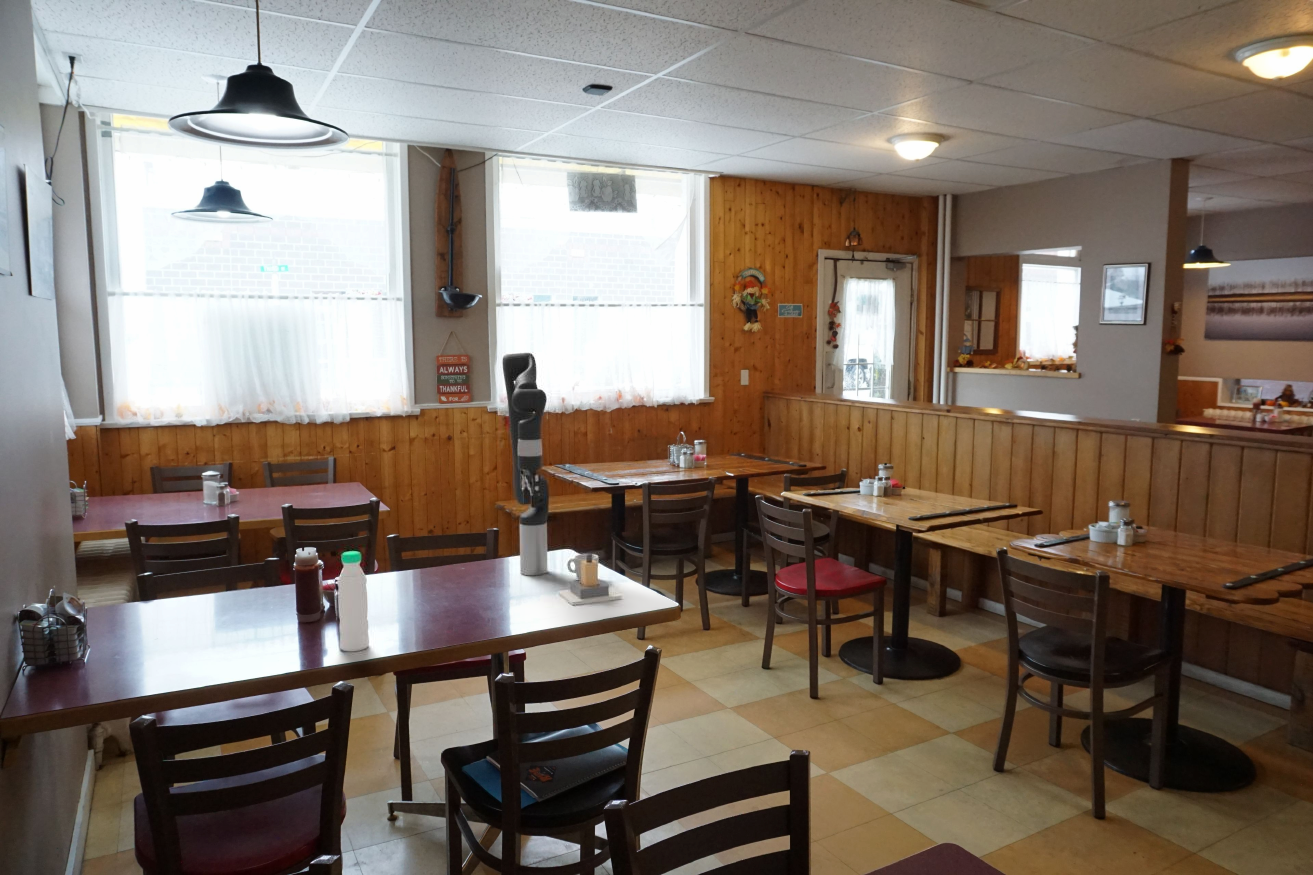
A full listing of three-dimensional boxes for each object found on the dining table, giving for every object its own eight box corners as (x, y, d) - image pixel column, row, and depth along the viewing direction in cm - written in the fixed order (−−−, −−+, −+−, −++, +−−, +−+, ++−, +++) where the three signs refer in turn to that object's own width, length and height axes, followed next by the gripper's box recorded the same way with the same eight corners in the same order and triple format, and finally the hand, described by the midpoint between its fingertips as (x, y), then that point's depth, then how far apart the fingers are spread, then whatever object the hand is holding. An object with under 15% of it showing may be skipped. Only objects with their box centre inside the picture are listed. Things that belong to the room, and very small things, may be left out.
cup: (563, 581, 287) (562, 557, 286) (572, 575, 294) (572, 552, 294) (593, 584, 284) (593, 560, 283) (602, 577, 291) (602, 554, 290)
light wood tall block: (581, 592, 270) (580, 553, 269) (593, 590, 272) (592, 552, 271) (585, 595, 267) (585, 556, 265) (597, 594, 268) (597, 554, 267)
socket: (558, 594, 272) (557, 581, 271) (605, 588, 279) (605, 576, 278) (572, 605, 260) (571, 592, 260) (621, 598, 267) (621, 586, 266)
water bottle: (359, 641, 229) (355, 548, 226) (374, 646, 224) (371, 552, 222) (334, 648, 223) (330, 553, 221) (349, 654, 219) (346, 557, 216)
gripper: (548, 455, 264) (549, 508, 266) (534, 450, 277) (535, 500, 279) (524, 456, 261) (525, 510, 263) (511, 451, 274) (512, 502, 275)
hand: (530, 505), depth 271 cm, fingers open, 8 cm apart
